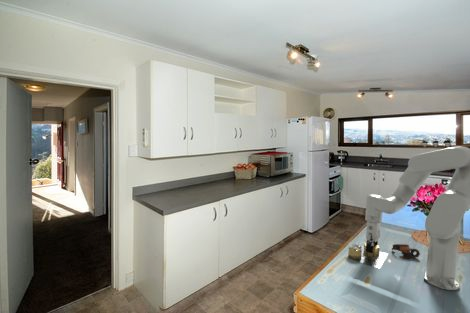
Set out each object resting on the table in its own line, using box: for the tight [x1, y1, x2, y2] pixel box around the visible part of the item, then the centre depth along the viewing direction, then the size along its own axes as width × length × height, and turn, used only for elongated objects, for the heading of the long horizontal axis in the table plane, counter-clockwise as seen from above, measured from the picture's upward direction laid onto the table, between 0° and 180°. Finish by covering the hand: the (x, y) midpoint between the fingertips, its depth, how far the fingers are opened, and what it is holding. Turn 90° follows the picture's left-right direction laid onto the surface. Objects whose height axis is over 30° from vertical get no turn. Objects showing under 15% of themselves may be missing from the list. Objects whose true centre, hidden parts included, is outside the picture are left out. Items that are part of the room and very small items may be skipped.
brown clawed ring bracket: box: [391, 243, 421, 260], centre depth 125 cm, size 12×10×8 cm
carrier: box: [344, 243, 389, 270], centre depth 124 cm, size 20×16×6 cm
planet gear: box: [363, 242, 381, 256], centre depth 127 cm, size 7×7×4 cm
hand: (371, 249), depth 127 cm, fingers open, 9 cm apart
